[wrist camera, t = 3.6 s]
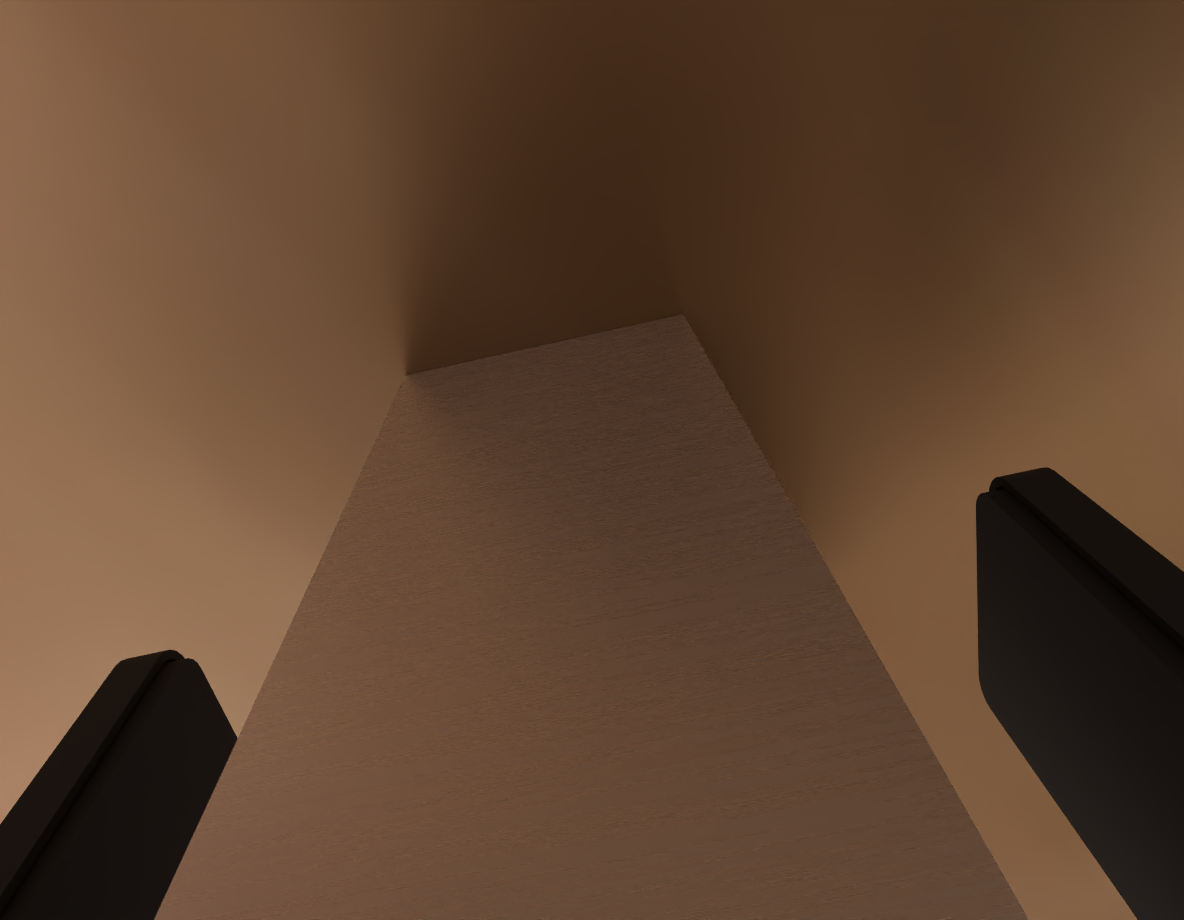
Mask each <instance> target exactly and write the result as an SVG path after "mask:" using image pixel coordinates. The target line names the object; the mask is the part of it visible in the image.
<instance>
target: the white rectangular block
mask: <svg viewBox="0 0 1184 920" xmlns="http://www.w3.org/2000/svg"><path fill="white" fill-rule="evenodd" d="M154 920H1029V919H1028V917H1027V915H1026V914H1025V912H1024V910H1023V908H1022V907H1021V905H1020V903H1019V901H1018V900H1017V898H1016V896H1015V894H1014V893H1013V891H1012V889H1011V887H1010V886H1009V884H1008V882H1007V880H1006V879H1005V877H1004V875H1003V873H1002V872H1001V870H1000V868H999V866H998V865H997V863H996V861H995V859H994V858H993V856H992V854H991V852H990V851H989V849H988V847H987V845H986V844H985V842H984V840H983V838H982V837H981V835H980V833H979V831H978V830H977V828H976V826H975V824H974V823H973V821H972V819H971V817H970V816H969V814H968V812H967V810H966V809H965V807H964V805H963V803H962V802H961V800H960V798H959V796H958V795H957V793H956V791H955V789H954V787H953V786H952V784H951V782H950V780H949V779H948V777H947V775H946V773H945V772H944V770H943V768H942V766H941V765H940V763H939V761H938V759H937V758H936V756H935V754H934V752H933V751H932V749H931V747H930V745H929V744H928V742H927V740H926V738H925V737H924V735H923V733H922V731H921V730H920V728H919V726H918V724H917V723H916V721H915V719H914V717H913V716H912V714H911V712H910V710H909V709H908V707H907V705H906V703H905V702H904V700H903V698H902V696H901V695H900V693H899V691H898V689H897V688H896V686H895V684H894V682H893V681H892V679H891V677H890V675H889V674H888V672H887V670H886V668H885V667H884V665H883V663H882V661H881V659H880V658H879V656H878V654H877V652H876V651H875V649H874V647H873V645H872V644H871V642H870V640H869V638H868V637H867V635H866V633H865V631H864V630H863V628H862V626H861V624H860V623H859V621H858V619H857V617H856V616H855V614H854V612H853V610H852V609H851V607H850V605H849V603H848V602H847V600H846V598H845V596H844V595H843V593H842V591H841V589H840V588H839V586H838V584H837V582H836V581H835V579H834V577H833V575H832V574H831V572H830V570H829V568H828V567H827V565H826V563H825V561H824V560H823V558H822V556H821V554H820V553H819V551H818V549H817V547H816V546H815V544H814V542H813V540H812V539H811V537H810V535H809V533H808V532H807V530H806V528H805V526H804V524H803V523H802V521H801V519H800V517H799V516H798V514H797V512H796V510H795V509H794V507H793V505H792V503H791V502H790V500H789V498H788V496H787V495H786V493H785V491H784V489H783V488H782V486H781V484H780V482H779V481H778V479H777V477H776V475H775V474H774V472H773V470H772V468H771V467H770V465H769V463H768V461H767V460H766V458H765V456H764V454H763V453H762V451H761V449H760V447H759V446H758V444H757V442H756V440H755V439H754V437H753V435H752V433H751V432H750V430H749V428H748V426H747V425H746V423H745V421H744V419H743V418H742V416H741V414H740V412H739V411H738V409H737V407H736V405H735V404H734V402H733V400H732V398H731V396H730V395H729V393H728V391H727V389H726V388H725V386H724V384H723V382H722V381H721V379H720V377H719V375H718V374H717V372H716V370H715V368H714V367H713V365H712V363H711V361H710V360H709V358H708V356H707V354H706V353H705V351H704V349H703V347H702V346H701V344H700V342H699V340H698V339H697V337H696V335H695V333H694V332H693V330H692V328H691V326H690V325H689V323H688V321H687V319H686V318H685V316H684V314H681V315H677V316H672V317H668V318H663V319H659V320H654V321H649V322H645V323H640V324H636V325H631V326H627V327H622V328H618V329H613V330H609V331H604V332H600V333H595V334H590V335H586V336H581V337H577V338H572V339H568V340H563V341H559V342H554V343H550V344H545V345H541V346H536V347H532V348H527V349H522V350H518V351H513V352H509V353H504V354H500V355H495V356H491V357H486V358H482V359H477V360H473V361H468V362H464V363H459V364H454V365H450V366H445V367H441V368H436V369H432V370H427V371H423V372H418V373H414V374H409V375H406V376H405V378H404V381H403V383H402V385H401V387H400V389H399V391H398V393H397V396H396V398H395V400H394V402H393V404H392V406H391V409H390V411H389V413H388V415H387V417H386V419H385V422H384V424H383V426H382V428H381V430H380V432H379V435H378V437H377V439H376V441H375V443H374V445H373V448H372V450H371V452H370V454H369V456H368V458H367V460H366V463H365V465H364V467H363V469H362V471H361V473H360V476H359V478H358V480H357V482H356V484H355V486H354V489H353V491H352V493H351V495H350V497H349V499H348V502H347V504H346V506H345V508H344V510H343V512H342V515H341V517H340V519H339V521H338V523H337V525H336V527H335V530H334V532H333V534H332V536H331V538H330V540H329V543H328V545H327V547H326V549H325V551H324V553H323V556H322V558H321V560H320V562H319V564H318V566H317V569H316V571H315V573H314V575H313V577H312V579H311V582H310V584H309V586H308V588H307V590H306V592H305V594H304V597H303V599H302V601H301V603H300V605H299V607H298V610H297V612H296V614H295V616H294V618H293V620H292V623H291V625H290V627H289V629H288V631H287V633H286V636H285V638H284V640H283V642H282V644H281V646H280V649H279V651H278V653H277V655H276V657H275V659H274V661H273V664H272V666H271V668H270V670H269V672H268V674H267V677H266V679H265V681H264V683H263V685H262V687H261V690H260V692H259V694H258V696H257V698H256V700H255V703H254V705H253V707H252V709H251V711H250V713H249V716H248V718H247V720H246V722H245V724H244V726H243V728H242V731H241V733H240V735H239V737H238V739H237V741H236V744H235V746H234V748H233V750H232V752H231V754H230V757H229V759H228V761H227V763H226V765H225V767H224V770H223V772H222V774H221V776H220V778H219V780H218V783H217V785H216V787H215V789H214V791H213V793H212V795H211V798H210V800H209V802H208V804H207V806H206V808H205V811H204V813H203V815H202V817H201V819H200V821H199V824H198V826H197V828H196V830H195V832H194V834H193V837H192V839H191V841H190V843H189V845H188V847H187V850H186V852H185V854H184V856H183V858H182V860H181V863H180V865H179V867H178V869H177V871H176V873H175V875H174V878H173V880H172V882H171V884H170V886H169V888H168V891H167V893H166V895H165V897H164V899H163V901H162V904H161V906H160V908H159V910H158V912H157V914H156V917H155V919H154Z"/></svg>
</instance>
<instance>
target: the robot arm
mask: <svg viewBox="0 0 1184 920" xmlns="http://www.w3.org/2000/svg"><path fill="white" fill-rule="evenodd" d="M976 536H977V597H978V659H979V681H980V685H981V689H982V692H983V695H984V697H985V699H986V702H987V704H988V705H989V707H990V709H991V710H992V712H993V713H994V714H995V716H996V717H997V719H998V720H999V722H1000V723H1001V724H1002V726H1003V727H1004V729H1005V730H1006V732H1007V733H1008V734H1009V736H1010V737H1011V739H1012V740H1013V742H1014V743H1015V745H1016V746H1017V747H1018V749H1019V750H1020V752H1021V753H1022V755H1023V756H1024V757H1025V759H1026V760H1027V762H1028V763H1029V765H1030V766H1031V767H1032V769H1033V770H1034V772H1035V773H1036V775H1037V776H1038V777H1039V779H1040V780H1041V782H1042V783H1043V785H1044V786H1045V787H1046V789H1047V790H1048V792H1049V793H1050V795H1051V796H1052V797H1053V799H1054V800H1055V802H1056V803H1057V805H1058V806H1059V807H1060V809H1061V810H1062V812H1063V813H1064V815H1065V816H1066V817H1067V819H1068V820H1069V822H1070V823H1071V825H1072V826H1073V827H1074V829H1075V830H1076V832H1077V833H1078V835H1079V836H1080V837H1081V839H1082V840H1083V842H1084V843H1085V845H1086V846H1087V848H1088V849H1089V850H1090V852H1091V853H1092V855H1093V856H1094V858H1095V859H1096V860H1097V862H1098V863H1099V865H1100V866H1101V868H1102V869H1103V870H1104V872H1105V873H1106V875H1107V876H1108V878H1109V879H1110V880H1111V882H1112V883H1113V885H1114V886H1115V888H1116V889H1117V890H1118V892H1119V893H1120V895H1121V896H1122V898H1123V899H1124V900H1125V902H1126V903H1127V905H1128V906H1129V908H1130V909H1131V910H1132V912H1133V913H1134V915H1135V916H1136V918H1137V919H1138V920H1184V572H1183V571H1182V570H1180V569H1179V568H1178V567H1177V566H1175V565H1174V564H1173V563H1172V562H1170V561H1169V560H1168V559H1166V558H1165V557H1164V556H1163V555H1161V554H1160V553H1159V552H1157V551H1156V550H1155V549H1154V548H1152V547H1151V546H1150V545H1149V544H1147V543H1146V542H1145V541H1143V540H1142V539H1141V538H1140V537H1138V536H1137V535H1136V534H1134V533H1133V532H1132V531H1131V530H1129V529H1128V528H1127V527H1126V526H1124V525H1123V524H1122V523H1120V522H1119V521H1118V520H1117V519H1115V518H1114V517H1113V516H1112V515H1110V514H1109V513H1108V512H1106V511H1105V510H1104V509H1103V508H1101V507H1100V506H1099V505H1097V504H1096V503H1095V502H1094V501H1092V500H1091V499H1090V498H1089V497H1087V496H1086V495H1085V494H1083V493H1082V492H1081V491H1080V490H1078V489H1077V488H1076V487H1074V486H1073V485H1072V484H1071V483H1069V482H1068V481H1067V480H1066V479H1064V478H1063V477H1062V476H1060V475H1059V474H1058V473H1057V472H1055V471H1054V470H1052V469H1050V468H1039V469H1034V470H1029V471H1025V472H1020V473H1015V474H1010V475H1005V476H1001V477H996V478H995V479H994V480H993V481H992V482H991V485H990V488H989V492H986V493H981V494H980V495H979V496H978V498H977V501H976ZM237 739H238V738H237V736H236V734H235V733H234V731H233V729H232V727H231V725H230V723H229V721H228V719H227V717H226V715H225V713H224V711H223V709H222V708H221V706H220V704H219V702H218V700H217V698H216V696H215V694H214V692H213V690H212V688H211V686H210V684H209V683H208V681H207V679H206V677H205V675H204V673H203V671H202V669H201V667H200V666H199V664H198V663H197V662H196V661H194V660H193V659H189V658H187V659H185V658H184V657H183V656H182V655H181V654H180V653H178V652H177V651H174V650H166V651H162V652H157V653H152V654H147V655H142V656H138V657H133V658H128V659H125V660H122V661H120V662H119V663H118V664H117V665H116V666H115V667H114V669H113V670H112V671H111V673H110V674H109V675H108V677H107V678H106V680H105V681H104V682H103V684H102V685H101V686H100V688H99V689H98V691H97V692H96V693H95V695H94V696H93V698H92V699H91V700H90V702H89V703H88V704H87V706H86V707H85V709H84V710H83V711H82V713H81V714H80V715H79V717H78V718H77V720H76V721H75V722H74V724H73V725H72V726H71V728H70V729H69V731H68V732H67V733H66V735H65V736H64V737H63V739H62V740H61V742H60V743H59V744H58V746H57V747H56V749H55V750H54V751H53V753H52V754H51V755H50V757H49V758H48V760H47V761H46V762H45V764H44V765H43V766H42V768H41V769H40V771H39V772H38V773H37V775H36V776H35V777H34V779H33V780H32V782H31V783H30V784H29V786H28V787H27V788H26V790H25V791H24V793H23V794H22V795H21V797H20V798H19V800H18V801H17V802H16V804H15V805H14V806H13V808H12V809H11V811H10V812H9V813H8V815H7V816H6V817H5V819H4V820H3V822H2V823H1V824H0V920H154V919H155V917H156V914H157V912H158V910H159V908H160V906H161V904H162V901H163V899H164V897H165V895H166V893H167V891H168V888H169V886H170V884H171V882H172V880H173V878H174V875H175V873H176V871H177V869H178V867H179V865H180V863H181V860H182V858H183V856H184V854H185V852H186V850H187V847H188V845H189V843H190V841H191V839H192V837H193V834H194V832H195V830H196V828H197V826H198V824H199V821H200V819H201V817H202V815H203V813H204V811H205V808H206V806H207V804H208V802H209V800H210V798H211V795H212V793H213V791H214V789H215V787H216V785H217V783H218V780H219V778H220V776H221V774H222V772H223V770H224V767H225V765H226V763H227V761H228V759H229V757H230V754H231V752H232V750H233V748H234V746H235V744H236V741H237Z"/></svg>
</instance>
